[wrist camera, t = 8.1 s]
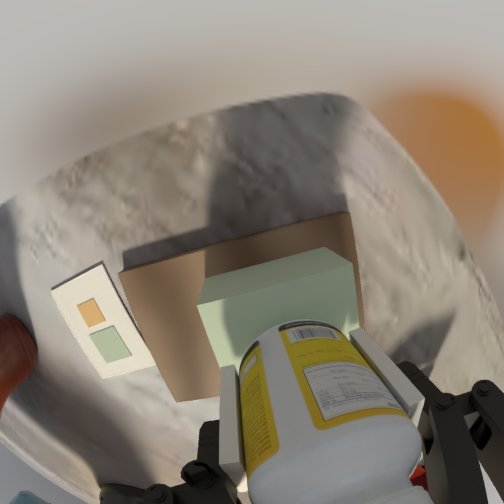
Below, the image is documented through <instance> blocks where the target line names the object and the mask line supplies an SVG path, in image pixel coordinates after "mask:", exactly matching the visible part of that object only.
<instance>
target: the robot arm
mask: <svg viewBox="0 0 504 504" xmlns="http://www.w3.org/2000/svg"><path fill="white" fill-rule="evenodd" d="M349 337H350V342H351V343H352V345H353V346H354V347H355V348H356V350H357V351H358V352H359V354H360V355H361V356H362V357H363V359H364V360H365V361H366V362H367V364H368V365H369V366H370V367H371V369H372V370H373V371H374V372H375V374H376V375H377V376H378V377H379V379H380V380H381V381H382V383H383V384H384V385H385V387H386V388H387V389H388V390H389V392H390V393H391V394H392V396H393V397H394V398H395V399H396V401H397V402H398V403H399V405H400V406H401V407H402V408H403V410H404V411H405V412H406V414H407V415H408V416H409V418H410V419H411V420H412V422H413V423H414V425H415V426H416V428H417V429H418V430H419V431H420V433H421V440H422V451H423V457H424V463H425V469H426V476H427V484H428V492H429V495H430V497H431V499H432V501H433V503H434V504H488V500H487V495H486V489H485V485H484V480H483V476H482V472H481V469H480V464H479V461H480V463H481V465H482V466H483V468H484V470H485V471H486V473H487V474H488V476H489V478H490V479H491V481H492V483H493V485H494V486H495V488H496V490H497V491H498V493H499V495H500V497H501V499H502V500H503V502H504V393H503V392H502V391H501V390H500V389H499V388H498V387H497V386H496V385H495V384H494V383H493V382H491V381H489V380H480V381H478V382H476V383H475V384H474V385H473V387H472V390H471V391H470V392H467V393H464V394H461V395H457V396H454V395H452V394H450V393H442V392H441V391H440V390H439V389H438V388H437V387H436V386H435V385H434V384H433V383H432V382H431V381H430V380H429V379H428V378H427V377H426V376H425V375H424V374H423V373H422V372H421V371H420V370H419V369H418V368H417V367H416V366H415V365H414V364H412V363H410V362H408V361H404V362H402V363H400V364H398V365H395V364H394V362H393V361H392V360H391V359H390V358H389V357H388V356H387V355H386V354H385V353H384V351H383V350H382V349H381V348H380V347H379V346H378V345H377V344H376V343H375V342H374V341H373V340H372V338H371V337H370V336H369V335H368V334H367V333H366V332H365V331H364V330H363V329H362V328H361V327H360V328H357V329H354V330H352V331H349ZM198 445H199V447H198V454H197V460H193V461H191V462H189V463H187V464H186V465H185V466H184V467H183V469H182V471H181V478H182V479H183V480H184V481H185V482H186V483H184V484H181V485H177V486H174V487H169V486H167V485H165V484H154V485H152V486H150V487H148V488H147V490H146V491H144V490H140V489H137V488H133V487H128V486H123V485H117V484H107V485H104V486H102V489H101V492H100V495H99V498H100V504H242V503H241V501H240V499H239V498H238V497H237V489H238V490H239V492H245V491H248V487H247V476H246V466H245V455H244V443H243V431H242V418H241V404H240V388H239V375H238V372H237V370H236V367H235V364H233V365H228V366H224V367H221V382H220V420H214V421H207V422H204V423H203V425H202V427H201V428H200V431H199V443H198ZM478 460H479V461H478ZM9 504H51V503H48V502H46V501H44V500H43V499H41V498H40V497H38V496H36V495H35V494H33V493H32V492H29V491H25V490H24V491H20V492H19V493H18V494H17V495H16V496H15V497H14V499H13V500H12V501H11V502H10V503H9Z"/></svg>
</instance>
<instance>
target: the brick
mask: <svg viewBox="0 0 504 504" xmlns="http://www.w3.org/2000/svg"><path fill="white" fill-rule="evenodd" d="M197 308H198V311H199V313H200V316H201V319H202V322H203V325H204V327H205V330H206V333H207V336H208V338H209V341H210V344H211V346H212V349H213V351H214V354H215V357H216V359H217V362H218V364H219V367H220V369H221V367H224V366H228V365H233V364H235V367H236V370H237V372H238V375H239V367H240V363H241V360H242V357H243V355H244V353H245V352H246V350H247V348H248V347H249V346H250V344H251V343H252V342H253V341H254V340H255V339H256V338H257V337H258V336H260V335H261V334H262V333H264V332H265V331H267V330H268V329H270V328H272V327H274V326H276V325H279V324H281V323H284V322H288V321H292V320H299V319H312V320H319V321H323V322H326V323H328V324H330V325H332V326H334V327H336V328H337V329H339V330H340V331H341V332H342V333H343V334H344V335H345V336H346V337H347V339H348V340H349V341H350V337H349V331H352V330H354V329H357V328H360V327H359V315H358V305H357V295H356V287H355V278H354V271H353V264H352V263H351V262H349V261H348V260H346V259H344V258H343V257H341V256H339V255H338V254H336V253H334V252H333V251H331V250H329V249H328V248H326V247H321V248H318V249H314V250H310V251H307V252H303V253H299V254H295V255H292V256H288V257H284V258H280V259H277V260H273V261H269V262H265V263H262V264H258V265H254V266H250V267H246V268H243V269H239V270H235V271H231V272H227V273H223V274H219V275H216V276H212V277H208V278H205V279H204V282H203V286H202V289H201V293H200V296H199V299H198V303H197Z"/></svg>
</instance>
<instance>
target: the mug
mask: <svg viewBox="0 0 504 504" xmlns="http://www.w3.org/2000/svg"><path fill="white" fill-rule="evenodd" d="M36 362H37V352H36V348H35V345H34V342H33V339H32V337H31V336H30V334H29V332H28V331H27V329H26V328H25V327H24V325H23V324H22V323H21V322H20V321H18V320H17V319H16V318H15V317H13V316H11V315H8V314H3V315H0V418H1V414H2V411H3V408H4V405H5V402H6V400H7V399H8V397H9V396H10V394H11V393H12V392H13V391H14V390H15V389H16V388H17V387H18V386H19V385H20V384H21V383H22V382H23V381H24V380H25V379H26V378H27V377H28V376H29V375H30V374H31V372H32V370H33V369H34V366H35V365H36Z"/></svg>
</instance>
